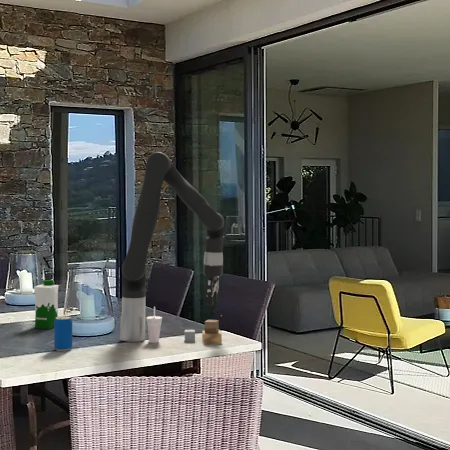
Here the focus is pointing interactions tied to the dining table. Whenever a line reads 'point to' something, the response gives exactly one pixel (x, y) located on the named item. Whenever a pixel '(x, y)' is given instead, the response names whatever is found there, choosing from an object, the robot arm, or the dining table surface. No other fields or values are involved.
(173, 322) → the dining table surface
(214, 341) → the teak block
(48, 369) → the dining table surface
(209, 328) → the walnut cube
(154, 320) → the smoothie
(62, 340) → the beverage can
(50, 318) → the milk carton
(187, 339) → the slate-grey cube
